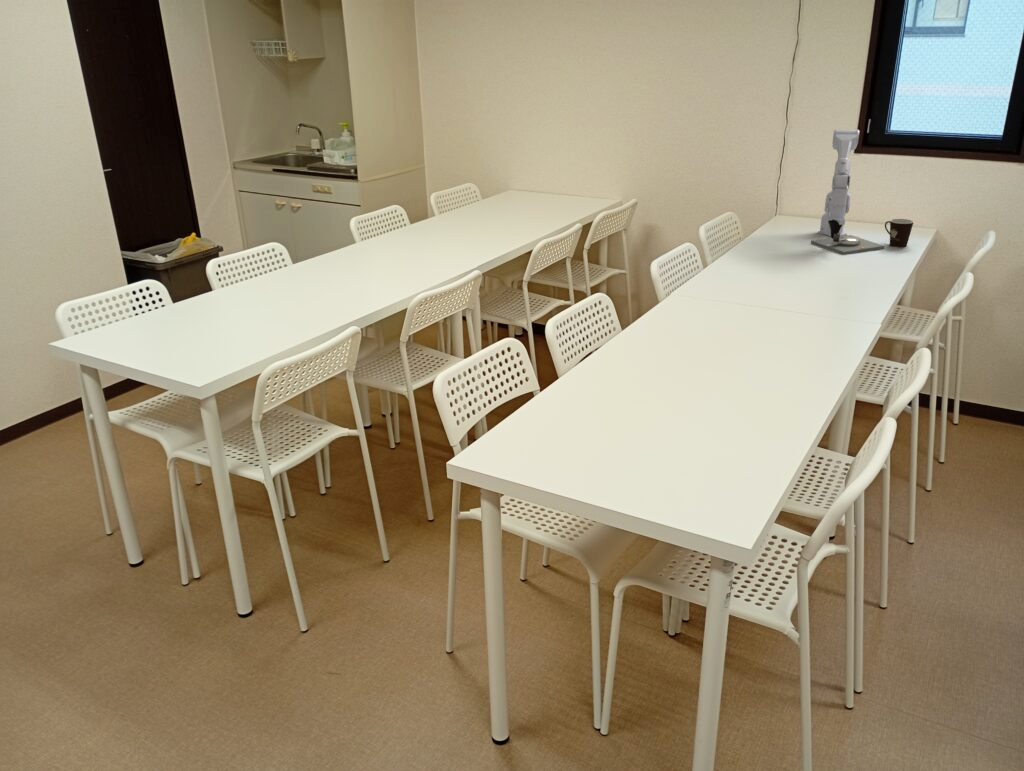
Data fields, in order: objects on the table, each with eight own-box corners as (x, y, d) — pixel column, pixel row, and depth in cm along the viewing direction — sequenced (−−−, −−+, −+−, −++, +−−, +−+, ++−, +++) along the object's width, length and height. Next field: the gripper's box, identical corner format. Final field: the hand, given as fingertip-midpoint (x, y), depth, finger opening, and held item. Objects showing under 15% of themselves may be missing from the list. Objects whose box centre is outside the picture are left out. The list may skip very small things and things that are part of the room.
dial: (845, 238, 346) (847, 226, 344) (865, 243, 338) (867, 231, 336) (823, 243, 340) (825, 231, 338) (843, 248, 333) (845, 236, 330)
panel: (810, 243, 346) (811, 239, 346) (850, 237, 352) (850, 234, 352) (843, 254, 329) (843, 251, 328) (884, 248, 335) (884, 245, 334)
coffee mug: (913, 247, 335) (917, 223, 331) (891, 248, 335) (895, 223, 331) (901, 240, 345) (905, 216, 341) (880, 241, 346) (884, 217, 341)
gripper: (822, 201, 339) (818, 233, 344) (833, 209, 325) (829, 243, 331) (840, 200, 338) (836, 233, 344) (852, 208, 325) (847, 242, 331)
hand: (834, 238), depth 338 cm, fingers closed, pressing on dial
